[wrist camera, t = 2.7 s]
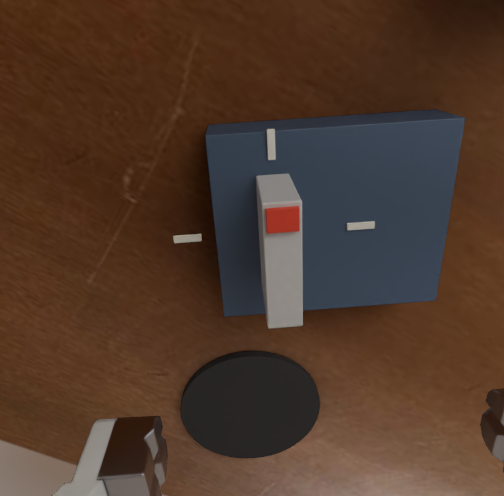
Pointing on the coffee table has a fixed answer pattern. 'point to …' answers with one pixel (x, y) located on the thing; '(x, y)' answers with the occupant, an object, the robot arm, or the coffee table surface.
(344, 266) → the valve panel
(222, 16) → the coffee table surface
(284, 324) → the tap handle
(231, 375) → the coaster
